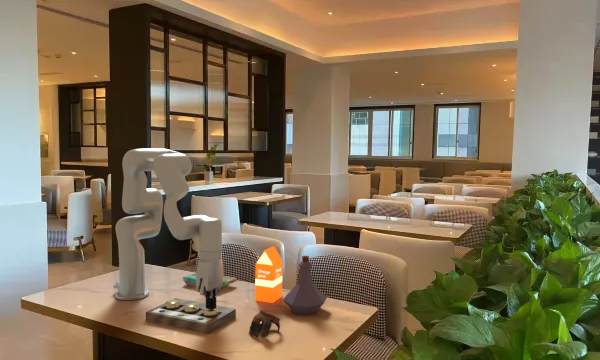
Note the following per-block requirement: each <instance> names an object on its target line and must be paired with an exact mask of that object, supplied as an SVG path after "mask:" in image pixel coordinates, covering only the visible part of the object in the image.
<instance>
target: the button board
mask: <svg viewBox="0 0 600 360" xmlns="http://www.w3.org/2000/svg"><path fill="white" fill-rule="evenodd" d="M172 300H178V301H180V308H179V309H177V310H175V311H172V310H167V309H165V302H164V303H162V304H159V305H158V306H156V307H153V308H151V309H149V310H146V311H145V321H147V322H152V323H157V324H161V325H166V326H170V327H175V328H180V329H185V330H188V331H195V332H199V333H203V334H207V335H209V334H211V333H213V332H214V331H216V330H218V329H219V328H220V327H223V326H224V325H226V324H227V323H229V322H230V321H232V320H234V319H235V318H237V312H236V311H237V309H236V308H233V307H227V306H221V305H217V304H216V308H218V316H216V317H215V318H208V317H203V309H204V308H206V302H201V301H200V302H199V301H194V300H189V299H183V298H179V297H178V298H177V297H176V298H173V299H172ZM191 303H195V304H198V305H199V312H197V313H195V314H193V315H192V314H187V313H184V305H186V304H191Z"/></svg>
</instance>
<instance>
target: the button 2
mask: <svg viewBox="0 0 600 360" xmlns="http://www.w3.org/2000/svg"><path fill="white" fill-rule="evenodd" d="M216 316H218V308H215V309H213V310H212V309H206V308H204V309H203V317H208V318H215V317H216Z"/></svg>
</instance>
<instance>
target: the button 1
mask: <svg viewBox="0 0 600 360" xmlns="http://www.w3.org/2000/svg"><path fill="white" fill-rule="evenodd" d="M164 303H165V309H167V310H172V311H175V310H177V309H179V308H180V301H178V300H173V299H170V300H167V301H165V302H164Z"/></svg>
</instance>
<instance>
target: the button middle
mask: <svg viewBox="0 0 600 360" xmlns="http://www.w3.org/2000/svg"><path fill="white" fill-rule="evenodd" d="M197 312H199V305H198V304H195V303H191V304H186V305H184V313H187V314H192V315H193V314H195V313H197Z"/></svg>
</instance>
